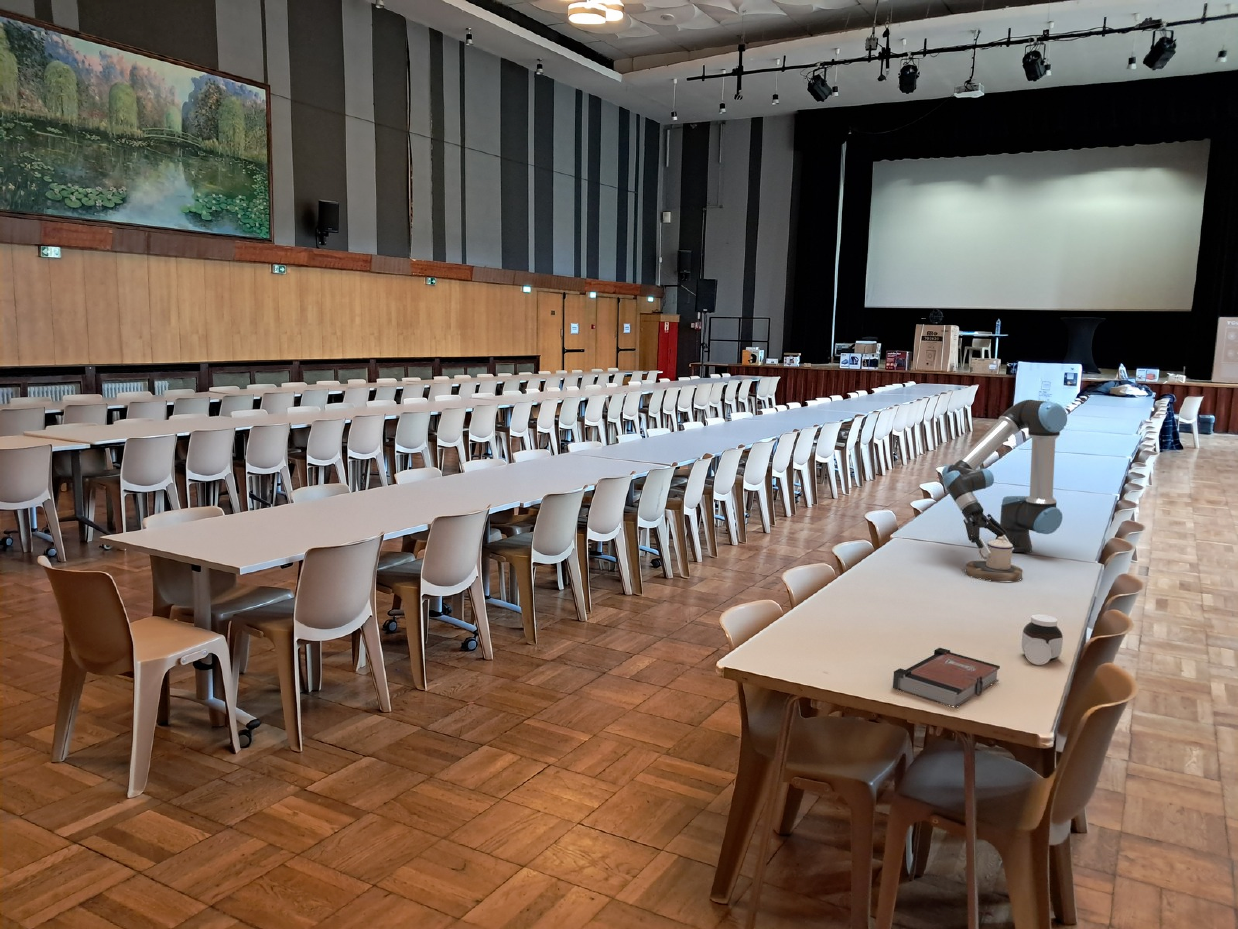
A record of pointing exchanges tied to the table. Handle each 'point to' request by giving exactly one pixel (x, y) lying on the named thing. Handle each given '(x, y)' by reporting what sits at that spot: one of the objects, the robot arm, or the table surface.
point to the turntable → (992, 572)
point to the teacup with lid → (998, 554)
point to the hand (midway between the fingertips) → (999, 553)
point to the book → (946, 678)
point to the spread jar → (1042, 639)
